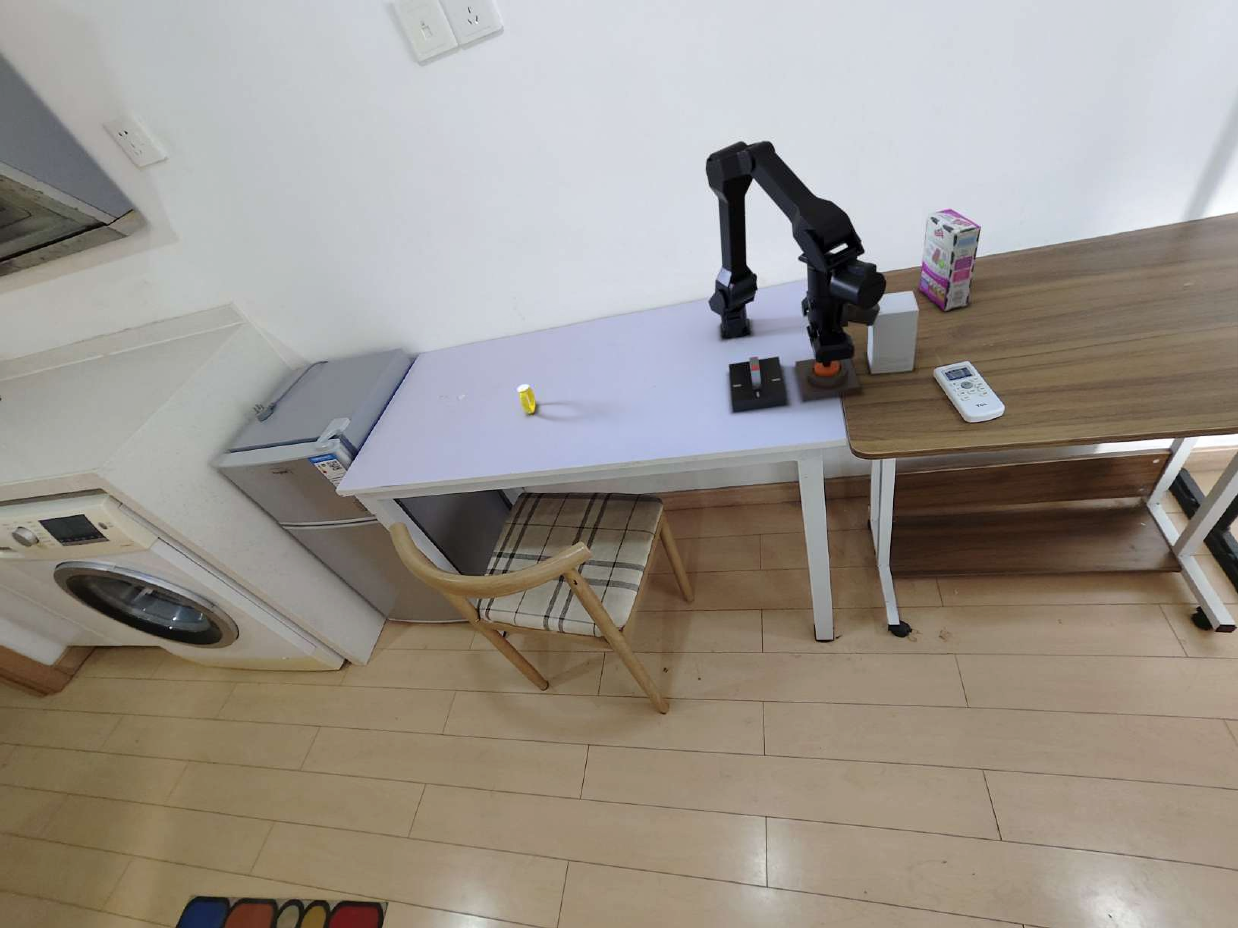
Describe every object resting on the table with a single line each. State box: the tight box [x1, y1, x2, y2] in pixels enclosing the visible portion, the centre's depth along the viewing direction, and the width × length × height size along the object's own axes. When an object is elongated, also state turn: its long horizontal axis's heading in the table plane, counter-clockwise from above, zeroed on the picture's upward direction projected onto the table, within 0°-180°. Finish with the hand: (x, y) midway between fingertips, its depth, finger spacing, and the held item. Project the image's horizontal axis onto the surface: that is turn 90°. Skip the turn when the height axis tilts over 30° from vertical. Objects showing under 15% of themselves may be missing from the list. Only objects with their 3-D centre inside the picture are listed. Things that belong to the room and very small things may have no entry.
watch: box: [516, 383, 537, 414], centre depth 128 cm, size 6×3×6 cm, turn 1°
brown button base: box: [795, 358, 861, 402], centre depth 110 cm, size 11×10×4 cm
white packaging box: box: [866, 290, 920, 375], centre depth 106 cm, size 7×7×13 cm
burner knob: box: [748, 356, 762, 391], centre depth 110 cm, size 5×2×5 cm, turn 175°
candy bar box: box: [919, 208, 982, 312], centre depth 116 cm, size 11×5×16 cm, turn 6°
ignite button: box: [814, 361, 839, 377], centre depth 108 cm, size 4×4×2 cm
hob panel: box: [728, 356, 788, 413], centre depth 114 cm, size 13×10×3 cm
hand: (826, 365), depth 108 cm, fingers closed, pressing on ignite button
